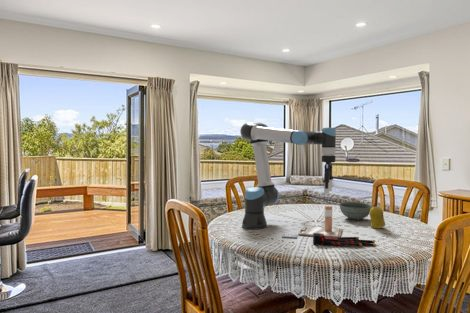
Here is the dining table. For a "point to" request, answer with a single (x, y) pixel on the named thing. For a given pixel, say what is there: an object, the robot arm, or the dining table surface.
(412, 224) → the dining table surface
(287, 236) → the grey striped tile
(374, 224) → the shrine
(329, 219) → the pastel stick
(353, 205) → the bowl
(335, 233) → the clipboard
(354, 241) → the toy
